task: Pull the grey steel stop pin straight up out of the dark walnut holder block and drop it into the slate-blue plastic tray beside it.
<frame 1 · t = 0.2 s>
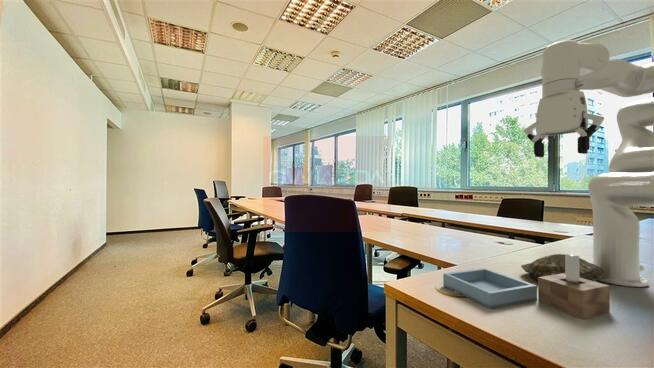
hand: (559, 155, 74), 36 cm above the table, tool pointing down, fingers open, 9 cm apart
crinkled plastic bag: (559, 281, 82), on the table
steel pin: (572, 281, 64), in the pin holder
pin holder: (572, 307, 64), on the table
tray: (487, 292, 73), on the table
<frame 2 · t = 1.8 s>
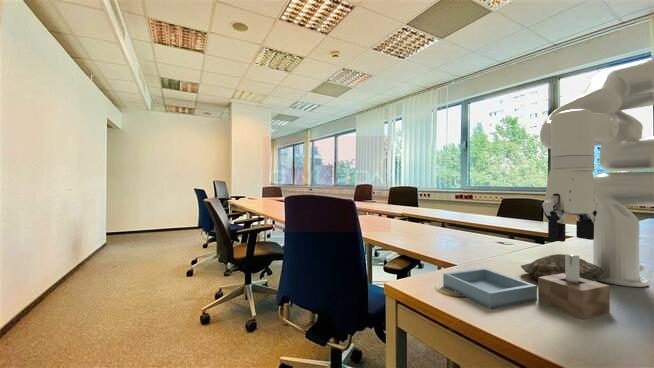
hand: (571, 239, 64), 16 cm above the table, tool pointing down, fingers open, 9 cm apart
nothing on the table moved.
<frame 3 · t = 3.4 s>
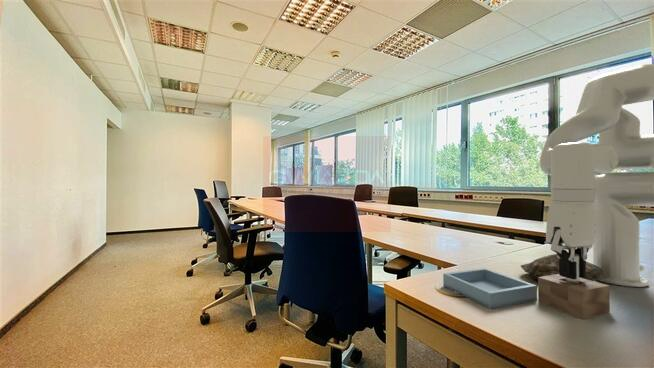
hand: (572, 276, 64), 7 cm above the table, tool pointing down, fingers closed on steel pin, 2 cm apart
steel pin: (572, 281, 64), in the pin holder, touching gripper
everything else where it was.
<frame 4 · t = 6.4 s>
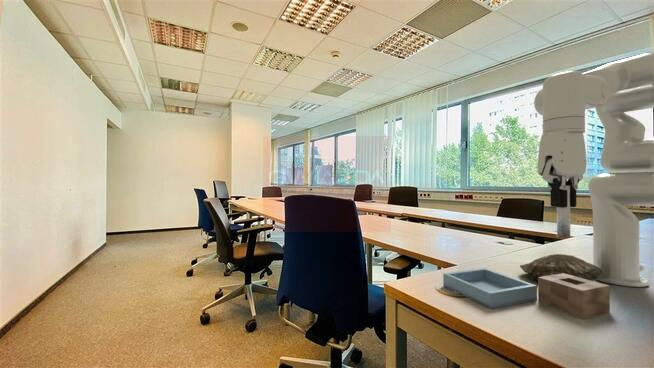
hand: (563, 206, 65), 23 cm above the table, tool pointing down, fingers closed on steel pin, 2 cm apart
steel pin: (563, 211, 65), point 22 cm above the table, touching gripper
everything else where it was.
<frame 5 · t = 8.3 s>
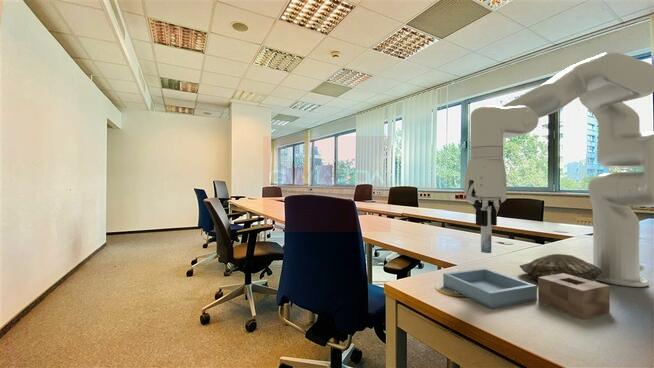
hand: (486, 224, 73), 18 cm above the table, tool pointing down, fingers closed on steel pin, 2 cm apart
steel pin: (486, 229, 73), point 17 cm above the table, touching gripper
everything else where it was.
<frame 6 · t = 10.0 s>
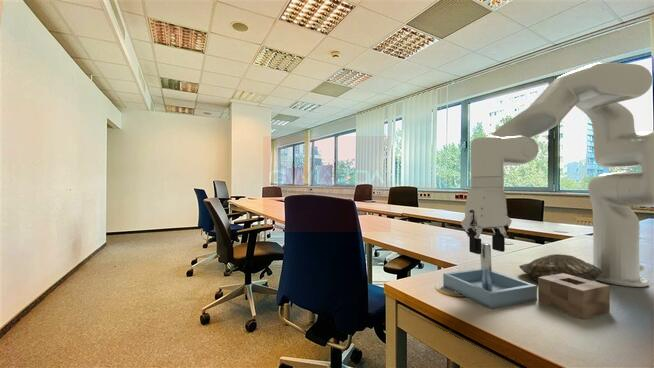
hand: (487, 251, 73), 11 cm above the table, tool pointing down, fingers open, 7 cm apart
steel pin: (486, 267, 73), in the tray, point 7 cm above the table
everything else where it was.
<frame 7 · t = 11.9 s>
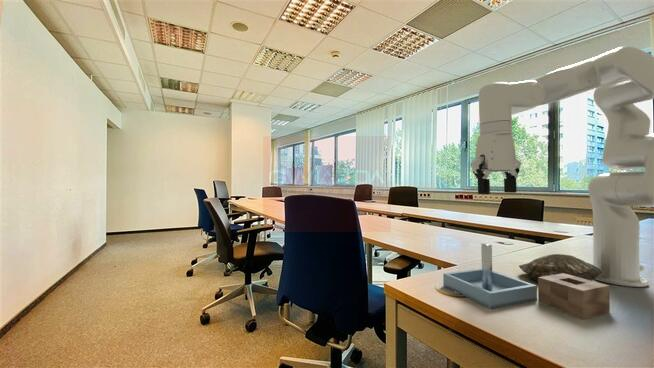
hand: (497, 193, 76), 26 cm above the table, tool pointing down, fingers open, 9 cm apart
nothing on the table moved.
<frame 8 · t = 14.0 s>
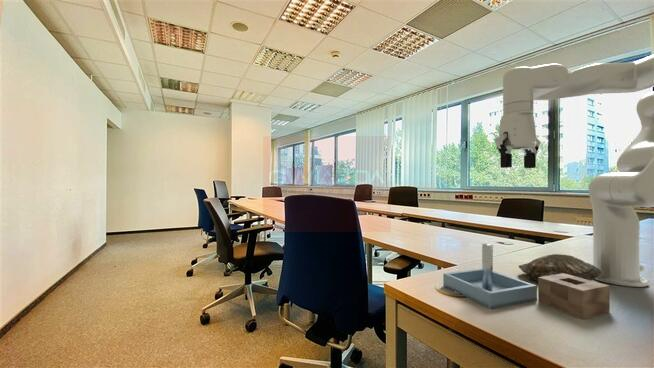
hand: (518, 167, 83), 33 cm above the table, tool pointing down, fingers open, 9 cm apart
nothing on the table moved.
at the end: steel pin inside the target area on the tray (0.0 cm from its centre), point 6.6 cm above the tray's base; the gripper is holding nothing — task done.
